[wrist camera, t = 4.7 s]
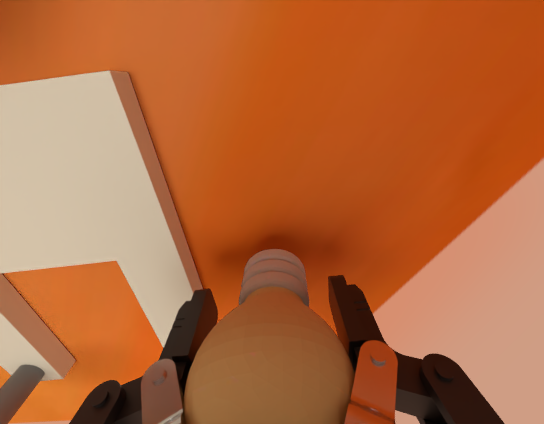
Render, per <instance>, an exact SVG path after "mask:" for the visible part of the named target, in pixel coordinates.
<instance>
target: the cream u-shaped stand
mask: <svg viewBox="0 0 544 424" xmlns="http://www.w3.org/2000/svg"><path fill="white" fill-rule="evenodd" d="M108 261H117V262H118V264H119V266H120V268H121V270H122V272H123V274H124V275H125V277H126V279H127V281H128V283H129V285H130V287H131V288H132V290H133V292H134V294H135V296H136V298H137V300H138V301H139V303H140V305H141V307H142V309H143V311H144V313H145V314H146V316H147V318H148V320H149V322H150V324H151V326H152V327H153V329H154V331H155V333H156V335H157V337H158V339H159V340H160V342H161V344H162V346H163V348H164V346H165V343H166V341H167V338H168V336H169V333H170V330H171V329H172V325H173V323H174V321H175V318H176V315H177V313H178V310H179V309H180V308H181V306H182V305H183V304H184V303H185V301H191V299H192V296H193V293H194V291H195V290H200V289H203V287H202V285H201V282H200V279H199V276H198V273H197V270H196V267H195V264H194V261H193V259H192V256H191V253H190V250H189V247H188V244H187V241H186V238H185V236H184V233H183V230H182V227H181V224H180V221H179V218H178V215H177V212H176V210H175V207H174V204H173V201H172V198H171V195H170V192H169V189H168V186H167V184H166V181H165V178H164V175H163V172H162V169H161V166H160V163H159V160H158V158H157V155H156V152H155V149H154V146H153V143H152V140H151V137H150V134H149V132H148V129H147V126H146V123H145V120H144V117H143V114H142V111H141V108H140V106H139V103H138V100H137V97H136V94H135V91H134V88H133V85H132V82H131V80H130V77H129V74H128V72H122V71H102V72H95V73H87V74H80V75H73V76H66V77H58V78H51V79H44V80H36V81H29V82H22V83H15V84H7V85H0V366H2V367H3V368H4V369H5V370H6V371H7V372H8V373H9V374H11V375H12V376H11V377H10V378H9V379H8V380H7V381H6V383H5V384H4V385H3V386H2V387H1V388H0V424H8V422H9V421H10V420H11V419H12V417H13V416H14V415H15V413H16V412H17V411H18V409H19V408H20V407H21V405H22V404H23V403H24V401H25V400H26V399H27V397H28V396H29V395H30V393H31V392H32V391H33V389H34V388H35V387H36V385H37V384H38V383H39V382H40V381H45V380H56V379H64V377H65V376H66V374H67V373H68V371H69V370H70V368H71V367H72V366H73V364H74V363H75V361H76V360H75V359H74V357H73V356H72V355H71V354H70V353H69V352H68V350H67V349H66V348H65V347H64V346H63V345H62V343H61V342H60V341H59V340H58V339H57V338H56V336H55V335H54V334H53V333H52V332H51V331H50V329H49V328H48V327H47V326H46V325H45V323H44V322H43V321H42V320H41V319H40V318H39V316H38V315H37V314H36V313H35V312H34V311H33V309H32V308H31V307H30V306H29V305H28V304H27V302H26V301H25V300H24V299H23V298H22V297H21V295H20V294H19V293H18V292H17V291H16V289H15V288H14V287H13V286H12V285H11V284H10V282H9V281H8V280H7V279H6V278H5V277H4V275H3V274H2V273H8V272H17V271H26V270H35V269H44V268H53V267H62V266H72V265H81V264H90V263H99V262H108Z"/></svg>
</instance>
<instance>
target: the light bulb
mask: <svg viewBox="0 0 544 424" xmlns="http://www.w3.org/2000/svg"><path fill="white" fill-rule="evenodd" d="M241 287H242V289H241V292H240V297H239V306H238V307H236V308H235V309H233V310H232V311H231V312H230V313H229V314H227V315H226V316H225V317H224V318H223V319H221V320H220V321H219V322H218V323H217V324H216V325H215V326H214V327H213V329H212V330H211V331H210V333H209V334H208V335H207V337H206V338H205V340H204V341H203V343H202V344H201V346H200V348H199V350H198V351H197V353H196V356H195V358H194V361H193V363H192V366H191V368H190V371H189V374H188V378H187V381H186V386H185V392H184V414H185V421H186V424H345V419H346V413H347V409H348V404H349V401H350V399H351V394H352V389H353V384H354V378H355V373H354V369H353V366H352V363H351V361H350V358H349V356H348V354H347V352H346V350H345V348H344V346H343V344H342V343H341V341H340V340H339V338H338V337H337V335H336V334H335V333H334V331H333V330H332V329H331V327H330V326H329V325H328V324H327V323H326V322H325V321H324V320H323V319H322V318H321V317H320V316H319V315H317V314H316V313H315V312H314V311H313V310H311V309H310V308H309V296H308V292H307V281H306V274H305V269H304V265H303V264H302V262H301V261H300V259H299V258H298V257H297V256H295V255H294V254H292V253H291V252H288V251H286V250H282V249H267V250H263V251H260V252H258V253H256V254H255V255H253V256H252V257H251V258H250V259H249V260H248V262H247V264H246V266H245V269H244V277H243V281H242V285H241Z"/></svg>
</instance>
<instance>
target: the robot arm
mask: <svg viewBox="0 0 544 424" xmlns="http://www.w3.org/2000/svg"><path fill="white" fill-rule="evenodd" d="M328 285H329V303H330V308H331V312H332V315H333V319H334V323H335V327H336V330H337V334H338V338H339V340H340V341H341V343H342V344H343V346H344V348H345V350H346V352H347V354H348V356H349V358H350V361H351V363H352V366H353V369H354V373H355V378H354V384H353V389H352V394H351V399H350V401H349V404H348V409H347V413H346V419H345V424H395V410H397V411H400V412H403V413H407V414H410V415H413V416H416V417H417V419H418V421H419V423H420V424H504V422H503V421H502V420H501V418H499V416H498V415H497V413H496V412H495V411H494V409H493V408H492V407H491V406H490V404H489V403H488V402H487V401H486V399H485V398H484V397H483V395H482V394H481V393H480V392H479V391H478V389H477V388H476V387H475V385H474V384H473V383H472V381H471V380H470V379H469V378H468V376H467V375H466V374H465V373H464V371H463V370H462V369H461V367H460V366H459V365H458V364H457V363H455V362H454V361H453V360H451V359H450V358H448V357H446V356H443V355H440V354H429V355H427V356H425V357H424V358H423V360H422V359H418V358H414V357H409V356H405V355H402V354H400V353H398V352H396V351H394V350H393V349H392V348H390V347H389V346H388V345H387V344H386V342H385V341H384V339H383V337H382V335H381V332H380V330H379V328H378V326H377V323H376V321H375V319H374V316H373V314H372V312H371V310H370V307H369V305H368V303H367V301H366V298H365V296H364V294H363V292H362V291H361V290H360V289H359V288H358V287H357V286H356V285H355V284H353V285H347V284H346V281H345V278H344V276H343V275H338V276H329V277H328ZM217 317H218V311H217V306H216V303H215V301H214V298H213V295H212V292H211V290H210V289H200V290H195V291H194V293H193V296H192V299H191V301H185V303H184V304H183V305H182V306H181V308H180V309H179V310H178V313H177V315H176V318H175V321H174V323H173V325H172V329H171V330H170V333H169V336H168V338H167V341H166V343H165V346H164V348H163V351H162V353H161V356H160V358H159V360H158V361H157V362H155V363H154V364H152V365H151V366H150V367H149V368H148V369H147V371H146V372H145V374H144V375H143V376H142V377H140V378H138V379H135V380H133V381H130V382H128V383H126V384H123V385H120V384H119V382H117V381H115V380H109V381H106V382H104V383H102V384H100V385H99V386H97V387H96V388H95V389H94V390H93V391H92V392H91V393H90V394H89V395H88V396H87V398H86V399H85V401H84V402H83V404H82V405H81V407H80V408H79V410H78V411H77V413H76V414H75V416H74V417H73V419H72V420H71V422H70V423H69V424H186V421H185V414H184V392H185V386H186V381H187V378H188V374H189V371H190V368H191V366H192V363H193V361H194V358H195V356H196V353H197V351H198V350H199V348H200V346H201V344H202V343H203V341H204V340H205V338H206V337H207V335H208V334H209V333H210V331H211V330H212V329H213V327H214V326H215V325H216V323H217Z"/></svg>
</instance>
